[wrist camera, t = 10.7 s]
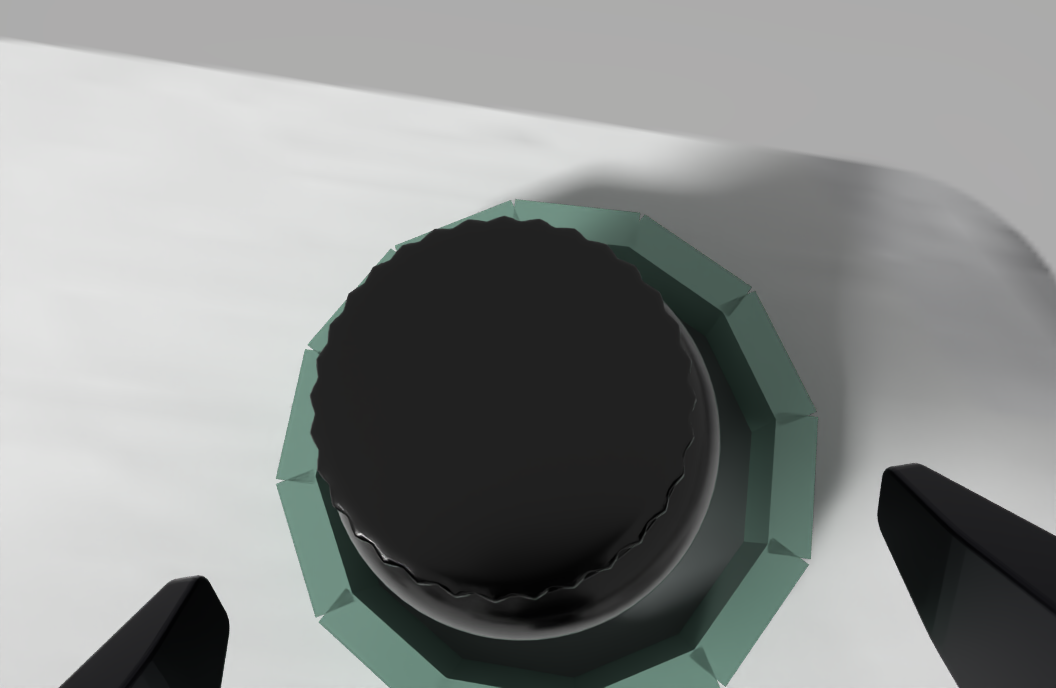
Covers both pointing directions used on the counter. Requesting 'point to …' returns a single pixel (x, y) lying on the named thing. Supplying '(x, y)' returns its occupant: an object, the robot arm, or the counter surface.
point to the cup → (697, 581)
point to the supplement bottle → (515, 429)
